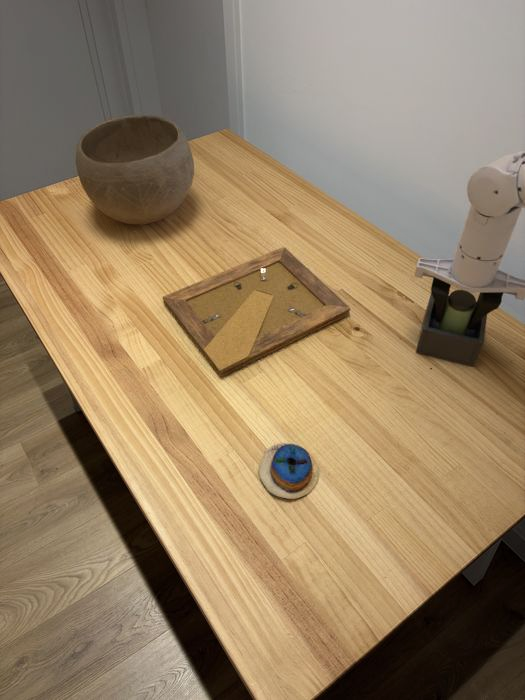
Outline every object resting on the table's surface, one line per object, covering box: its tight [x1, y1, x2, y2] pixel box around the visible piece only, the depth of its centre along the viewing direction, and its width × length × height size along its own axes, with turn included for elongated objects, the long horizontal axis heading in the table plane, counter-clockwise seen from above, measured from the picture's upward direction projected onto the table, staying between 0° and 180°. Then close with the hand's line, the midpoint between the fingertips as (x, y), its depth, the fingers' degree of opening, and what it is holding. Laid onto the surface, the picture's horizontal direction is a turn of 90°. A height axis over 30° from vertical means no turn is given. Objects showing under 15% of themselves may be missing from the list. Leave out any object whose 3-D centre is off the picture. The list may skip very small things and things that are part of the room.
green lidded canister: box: [439, 289, 477, 335], centre depth 80 cm, size 4×4×6 cm
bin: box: [415, 292, 488, 367], centre depth 82 cm, size 8×8×5 cm
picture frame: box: [162, 246, 351, 378], centre depth 88 cm, size 19×2×24 cm
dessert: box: [258, 442, 320, 500], centre depth 69 cm, size 8×7×6 cm
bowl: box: [75, 114, 195, 226], centre depth 102 cm, size 21×21×15 cm
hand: (454, 321), depth 81 cm, fingers closed on green lidded canister, 4 cm apart
